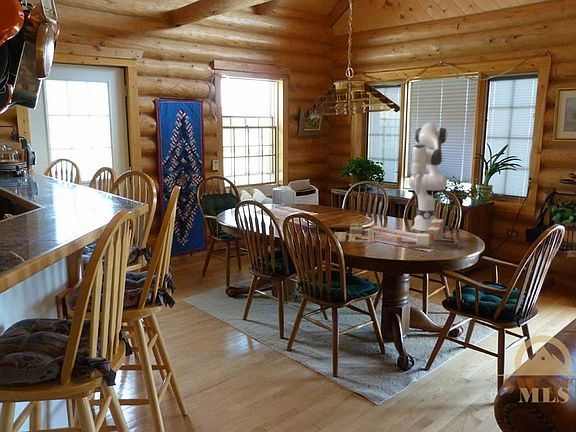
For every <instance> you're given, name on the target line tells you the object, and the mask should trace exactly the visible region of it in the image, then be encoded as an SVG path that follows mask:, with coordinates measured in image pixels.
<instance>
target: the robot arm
mask: <svg viewBox="0 0 576 432" xmlns="http://www.w3.org/2000/svg"><path fill="white" fill-rule="evenodd" d="M447 139H448V131H447V129H446V128H445V127H438V126H436V124H435V123H433V122H425V123H424V124H423V125H422V127H419V128H417V129H416V130H415V132H414V141H415V142H416V143H419V144H415V145H413V147H412V152H411V153H410V156H411V157H410V161H411V167H410V168H411V170H410V174H411V175H410V177H409V179H408V185H409V187H410V188H411V190H413V191H414V193H415V194H416V196H417V203H418V207H417V210H416V211H417V214H416V216H415V217H414V219H413V222H414V224H413V225H412V226H411V229H412V230H416V231H422V232H428V229H429V228H430V227H431V221H432V220H433V219H438V218H437V217H436V209H435V206H436V205H435V204H436V199H435V197H433V196H432V195H430V194H428V192H427V191H443V190H445V188H446V186H447V184H448V180H447V178H446V176H445V175H444V174H442V173H441V171H440V169H439V165H441V164H442V162H443V160H444V159H443V157H444V156H443V153H442V145H443V144H444V143H445V142H446V141H447ZM427 172H428V173H427Z"/></svg>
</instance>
